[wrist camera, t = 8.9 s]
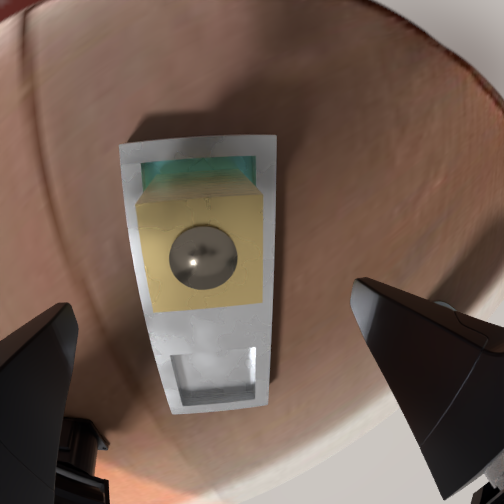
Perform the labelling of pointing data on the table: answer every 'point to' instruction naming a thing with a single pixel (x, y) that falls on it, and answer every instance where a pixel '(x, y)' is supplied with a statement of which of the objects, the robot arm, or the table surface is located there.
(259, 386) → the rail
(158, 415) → the table surface
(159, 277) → the block
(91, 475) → the robot arm
